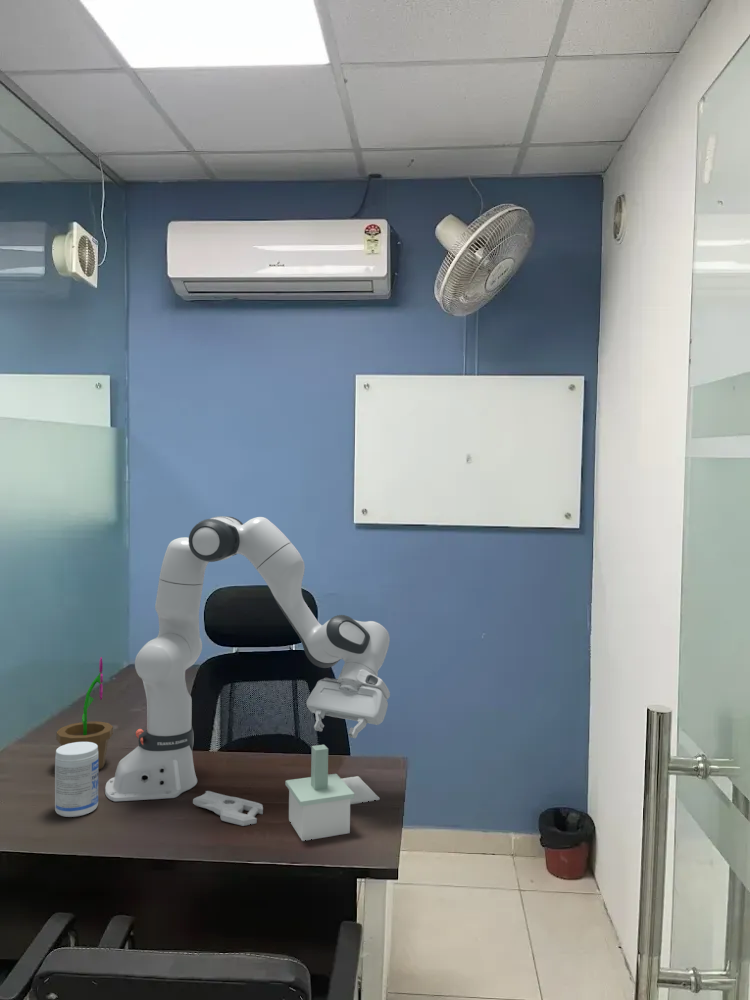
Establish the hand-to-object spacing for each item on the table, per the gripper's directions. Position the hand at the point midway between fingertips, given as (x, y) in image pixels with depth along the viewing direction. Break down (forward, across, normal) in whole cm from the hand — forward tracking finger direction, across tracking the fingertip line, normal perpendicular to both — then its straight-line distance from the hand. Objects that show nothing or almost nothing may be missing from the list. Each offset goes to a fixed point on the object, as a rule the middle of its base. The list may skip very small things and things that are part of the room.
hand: (334, 733), depth 172 cm
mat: (+5, -5, +23) cm, 24 cm away
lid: (+13, 0, +4) cm, 14 cm away
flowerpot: (+20, -74, +8) cm, 77 cm away
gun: (+22, -22, +6) cm, 32 cm away
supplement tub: (+34, -54, -6) cm, 64 cm away
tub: (+18, 0, +9) cm, 20 cm away
